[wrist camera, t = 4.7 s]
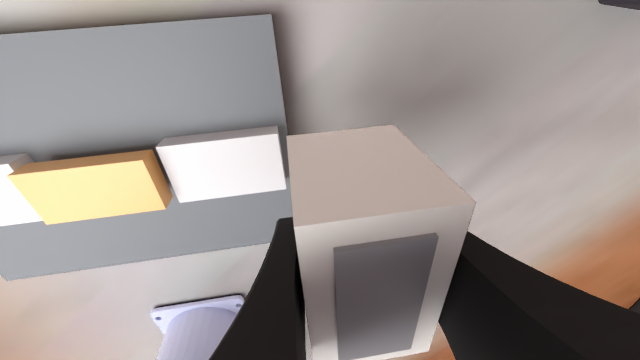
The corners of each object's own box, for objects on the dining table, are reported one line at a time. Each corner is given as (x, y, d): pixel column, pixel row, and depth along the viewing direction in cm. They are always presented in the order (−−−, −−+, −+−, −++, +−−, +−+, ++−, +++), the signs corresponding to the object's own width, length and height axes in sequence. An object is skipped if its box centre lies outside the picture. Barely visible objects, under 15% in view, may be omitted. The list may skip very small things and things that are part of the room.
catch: (173, 196, 15) (165, 209, 14) (62, 210, 15) (46, 224, 14) (151, 149, 14) (142, 160, 13) (27, 163, 13) (6, 175, 12)
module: (381, 247, 13) (430, 355, 9) (302, 259, 13) (315, 377, 9) (393, 124, 10) (480, 206, 6) (286, 135, 10) (294, 232, 5)
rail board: (300, 224, 21) (303, 250, 19) (24, 263, 19) (-10, 296, 17) (271, 13, 13) (270, 14, 11) (-186, 48, 12) (-298, 56, 9)
